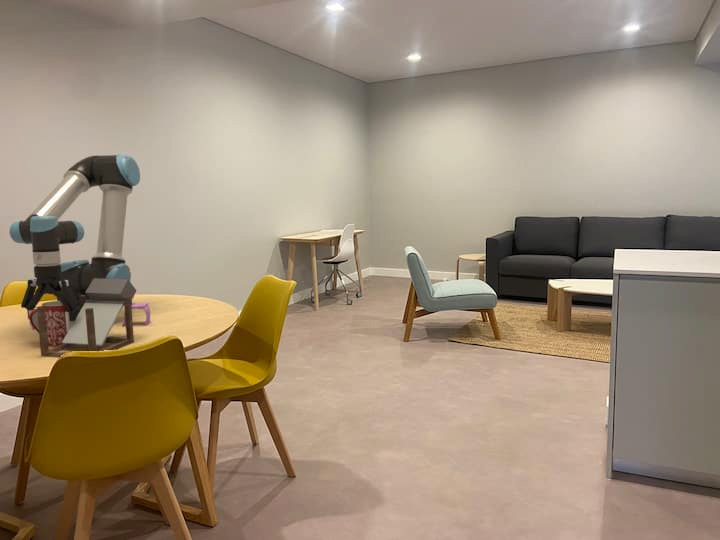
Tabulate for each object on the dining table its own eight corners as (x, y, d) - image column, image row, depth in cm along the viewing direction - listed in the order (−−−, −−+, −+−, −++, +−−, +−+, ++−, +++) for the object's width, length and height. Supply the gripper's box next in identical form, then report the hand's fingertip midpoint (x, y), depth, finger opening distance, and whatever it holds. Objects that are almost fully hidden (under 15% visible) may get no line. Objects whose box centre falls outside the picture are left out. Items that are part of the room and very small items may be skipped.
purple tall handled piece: (146, 326, 198) (143, 286, 196) (121, 327, 197) (118, 286, 195) (151, 321, 206) (149, 282, 204) (127, 322, 205) (124, 283, 203)
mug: (76, 338, 182) (73, 299, 181) (76, 345, 174) (72, 303, 173) (33, 343, 177) (29, 302, 175) (30, 350, 169) (26, 308, 167)
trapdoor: (67, 348, 170) (56, 337, 166) (101, 289, 185) (92, 278, 181) (106, 350, 167) (96, 339, 163) (137, 290, 182) (129, 279, 178)
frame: (40, 355, 163) (36, 307, 161) (85, 339, 181) (82, 295, 179) (94, 359, 159) (90, 309, 157) (134, 341, 178) (131, 296, 175)
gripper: (4, 265, 171) (10, 331, 174) (72, 266, 166) (77, 334, 168) (23, 262, 178) (29, 325, 181) (89, 264, 173) (94, 329, 176)
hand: (52, 330), depth 175 cm, fingers open, 13 cm apart
